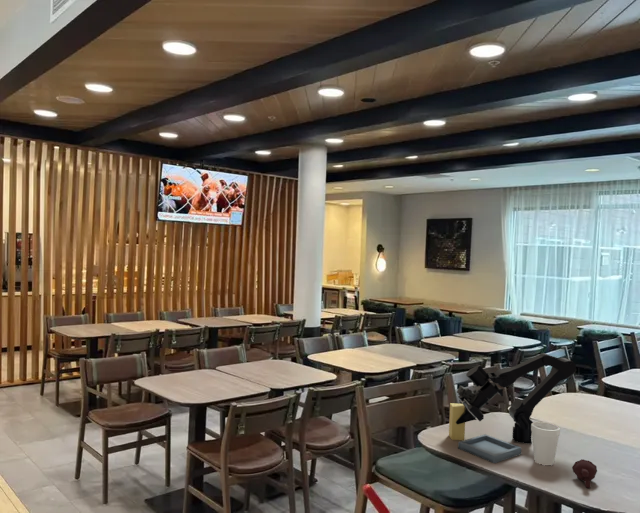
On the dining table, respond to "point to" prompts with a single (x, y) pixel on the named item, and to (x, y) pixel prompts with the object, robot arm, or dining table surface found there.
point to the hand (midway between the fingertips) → (454, 421)
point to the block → (455, 429)
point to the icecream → (585, 471)
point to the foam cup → (545, 442)
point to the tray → (489, 448)
